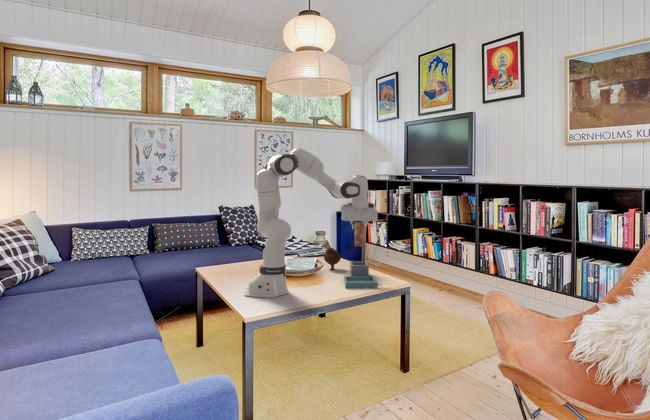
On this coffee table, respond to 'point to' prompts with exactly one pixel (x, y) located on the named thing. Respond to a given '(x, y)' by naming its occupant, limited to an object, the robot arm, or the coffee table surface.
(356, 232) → the peg
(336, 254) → the ice cream bowl
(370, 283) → the tray
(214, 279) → the coffee table surface
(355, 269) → the grey open square box
